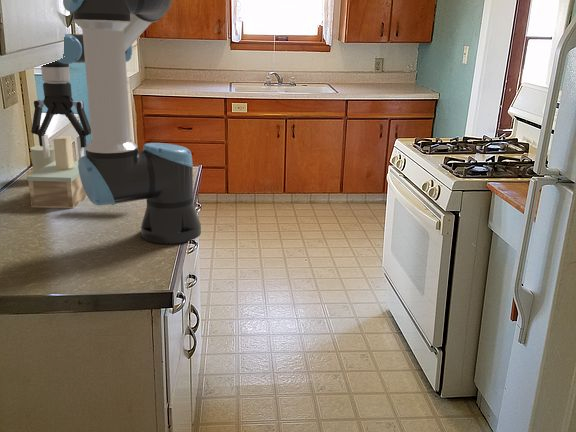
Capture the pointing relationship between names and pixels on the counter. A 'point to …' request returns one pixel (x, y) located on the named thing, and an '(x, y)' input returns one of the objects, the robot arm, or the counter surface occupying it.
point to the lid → (59, 164)
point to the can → (41, 157)
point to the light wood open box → (56, 193)
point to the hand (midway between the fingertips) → (64, 157)
